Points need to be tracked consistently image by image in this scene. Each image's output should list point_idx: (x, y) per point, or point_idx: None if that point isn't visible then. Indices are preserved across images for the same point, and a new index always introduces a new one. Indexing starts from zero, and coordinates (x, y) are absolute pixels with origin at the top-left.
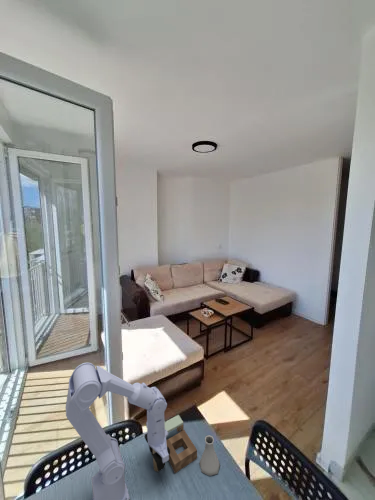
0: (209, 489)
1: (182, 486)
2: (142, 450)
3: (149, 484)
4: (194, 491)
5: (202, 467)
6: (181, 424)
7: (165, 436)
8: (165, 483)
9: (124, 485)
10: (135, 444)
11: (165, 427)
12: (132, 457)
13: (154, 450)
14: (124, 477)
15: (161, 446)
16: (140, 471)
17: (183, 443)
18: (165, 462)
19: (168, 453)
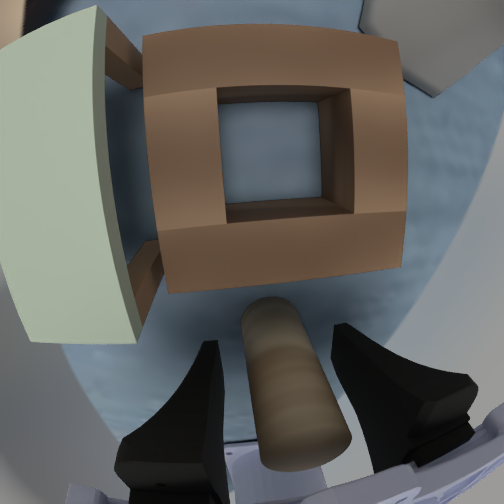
0: (486, 121)
1: (429, 228)
2: (133, 368)
3: (324, 371)
4: (467, 185)
5: (447, 86)
6: (101, 38)
7: (418, 500)
8: (370, 304)
9: (304, 471)
10: (92, 383)
11: (60, 278)
12: (157, 409)
13: (324, 463)
14: (300, 492)
15: (450, 495)
16: (243, 396)
17: (245, 94)
18: (376, 344)
19: (473, 399)
